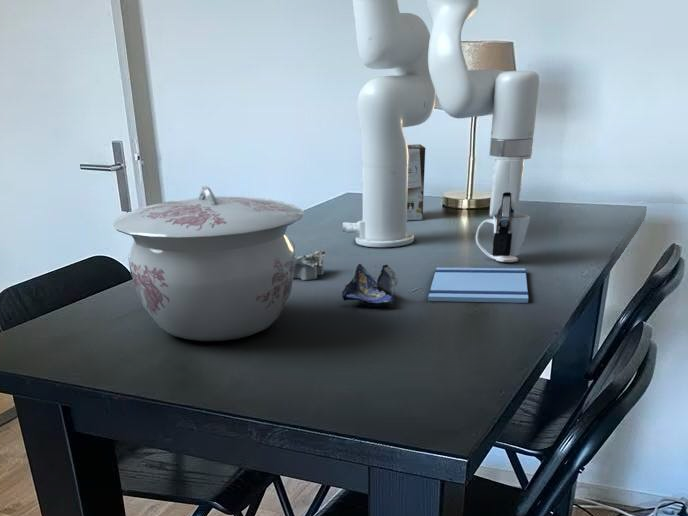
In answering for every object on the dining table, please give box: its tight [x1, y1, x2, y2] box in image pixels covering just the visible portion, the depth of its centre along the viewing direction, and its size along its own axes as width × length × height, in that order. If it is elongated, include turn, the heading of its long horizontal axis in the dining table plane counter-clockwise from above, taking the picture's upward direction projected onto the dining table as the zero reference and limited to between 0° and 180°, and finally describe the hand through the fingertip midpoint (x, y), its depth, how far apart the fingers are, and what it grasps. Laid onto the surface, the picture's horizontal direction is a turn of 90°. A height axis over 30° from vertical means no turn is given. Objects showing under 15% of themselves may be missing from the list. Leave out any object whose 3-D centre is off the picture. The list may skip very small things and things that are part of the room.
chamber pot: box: [112, 185, 304, 343], centre depth 117 cm, size 28×28×21 cm
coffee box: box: [407, 143, 426, 221], centre depth 192 cm, size 9×6×16 cm
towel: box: [427, 267, 529, 304], centre depth 138 cm, size 16×20×1 cm
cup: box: [474, 212, 531, 263], centre depth 152 cm, size 7×10×8 cm
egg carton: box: [293, 250, 326, 281], centre depth 149 cm, size 11×8×4 cm
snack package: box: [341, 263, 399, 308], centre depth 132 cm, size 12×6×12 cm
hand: (501, 250), depth 152 cm, fingers closed on cup, 6 cm apart
